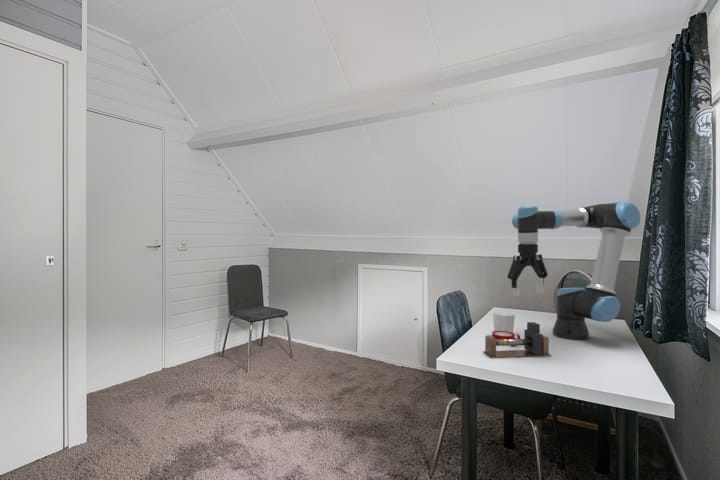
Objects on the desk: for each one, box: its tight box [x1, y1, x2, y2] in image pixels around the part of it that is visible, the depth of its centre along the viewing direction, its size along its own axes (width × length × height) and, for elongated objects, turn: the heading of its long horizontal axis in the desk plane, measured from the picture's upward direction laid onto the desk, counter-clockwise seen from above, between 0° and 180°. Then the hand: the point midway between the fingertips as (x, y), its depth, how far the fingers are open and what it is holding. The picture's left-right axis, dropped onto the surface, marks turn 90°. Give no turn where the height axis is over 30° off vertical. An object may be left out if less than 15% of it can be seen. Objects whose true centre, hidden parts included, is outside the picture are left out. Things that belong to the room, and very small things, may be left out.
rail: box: [483, 334, 552, 359], centre depth 150 cm, size 25×7×7 cm, turn 95°
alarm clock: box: [486, 330, 521, 347], centre depth 166 cm, size 10×6×15 cm
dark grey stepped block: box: [523, 321, 544, 355], centre depth 151 cm, size 3×8×12 cm, turn 5°
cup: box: [492, 310, 516, 334], centre depth 182 cm, size 10×10×10 cm
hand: (528, 294), depth 154 cm, fingers open, 13 cm apart
